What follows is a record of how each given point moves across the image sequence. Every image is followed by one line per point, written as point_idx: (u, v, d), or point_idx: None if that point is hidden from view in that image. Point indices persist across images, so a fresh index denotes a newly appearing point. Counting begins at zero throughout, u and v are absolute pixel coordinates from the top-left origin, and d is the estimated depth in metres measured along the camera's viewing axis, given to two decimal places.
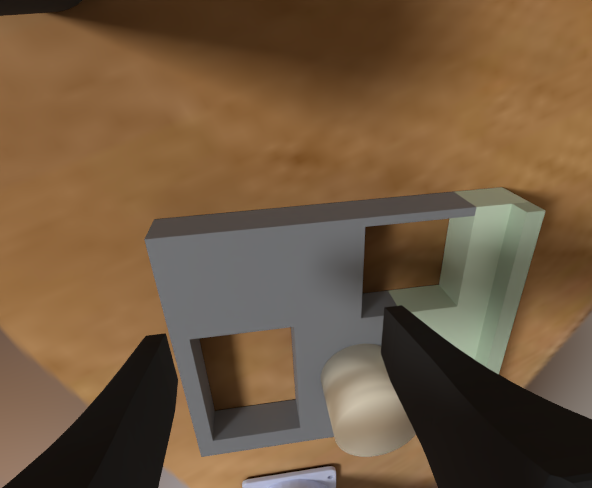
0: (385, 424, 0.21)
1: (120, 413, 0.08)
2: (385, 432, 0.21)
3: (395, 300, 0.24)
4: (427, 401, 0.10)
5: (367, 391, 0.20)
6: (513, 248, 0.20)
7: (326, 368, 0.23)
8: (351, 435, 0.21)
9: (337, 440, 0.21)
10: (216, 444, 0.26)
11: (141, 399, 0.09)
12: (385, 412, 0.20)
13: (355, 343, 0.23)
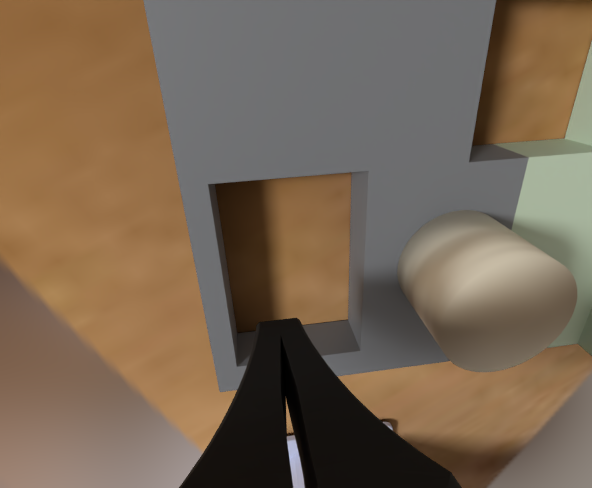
0: (520, 313, 0.13)
1: (276, 391, 0.09)
2: (516, 328, 0.13)
3: (510, 149, 0.16)
4: (297, 420, 0.10)
5: (498, 253, 0.12)
6: None
7: (410, 247, 0.16)
8: (466, 330, 0.13)
9: (442, 339, 0.13)
10: (241, 372, 0.18)
11: (281, 380, 0.10)
12: (524, 289, 0.13)
13: (454, 208, 0.16)
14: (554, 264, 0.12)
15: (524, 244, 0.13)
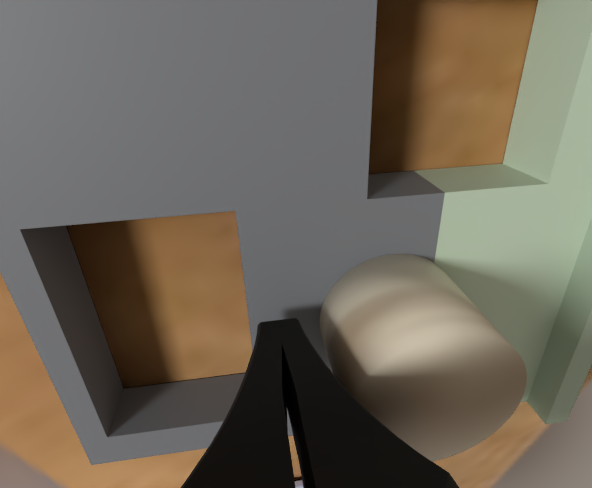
0: (453, 399, 0.10)
1: (278, 391, 0.09)
2: (450, 415, 0.11)
3: (429, 179, 0.13)
4: (296, 420, 0.10)
5: (421, 325, 0.09)
6: None
7: (331, 299, 0.13)
8: (383, 419, 0.10)
9: None
10: (115, 443, 0.15)
11: (282, 380, 0.10)
12: (456, 371, 0.10)
13: (355, 254, 0.12)
14: (494, 342, 0.09)
15: (459, 311, 0.10)
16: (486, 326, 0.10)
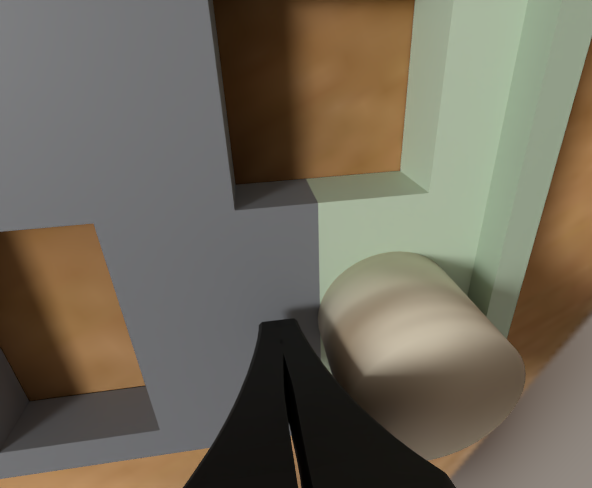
0: (451, 396, 0.10)
1: (279, 391, 0.09)
2: (449, 413, 0.10)
3: (313, 188, 0.13)
4: (294, 420, 0.10)
5: (416, 323, 0.09)
6: (546, 30, 0.09)
7: (328, 298, 0.13)
8: (381, 418, 0.10)
9: None
10: (8, 459, 0.15)
11: (284, 380, 0.10)
12: (453, 368, 0.10)
13: (232, 266, 0.12)
14: (490, 338, 0.09)
15: (455, 308, 0.10)
16: (482, 322, 0.10)
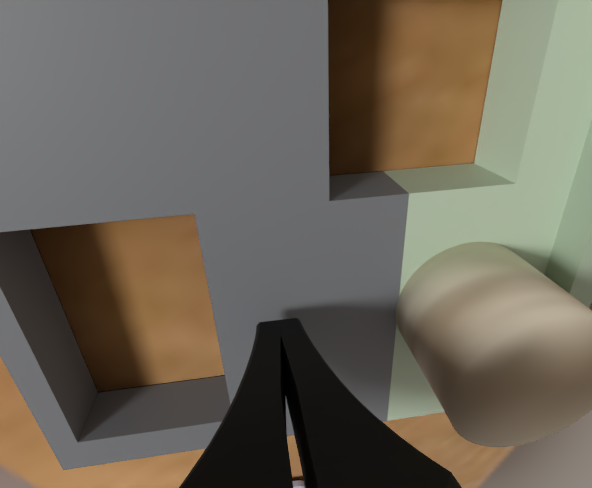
0: (551, 381, 0.10)
1: (276, 391, 0.09)
2: (546, 397, 0.11)
3: (396, 180, 0.13)
4: (297, 420, 0.10)
5: (524, 309, 0.10)
6: None
7: (411, 287, 0.13)
8: (482, 402, 0.10)
9: (453, 414, 0.10)
10: (86, 448, 0.15)
11: (281, 380, 0.10)
12: (558, 353, 0.10)
13: (320, 257, 0.12)
14: None
15: (556, 294, 0.10)
16: (586, 308, 0.10)
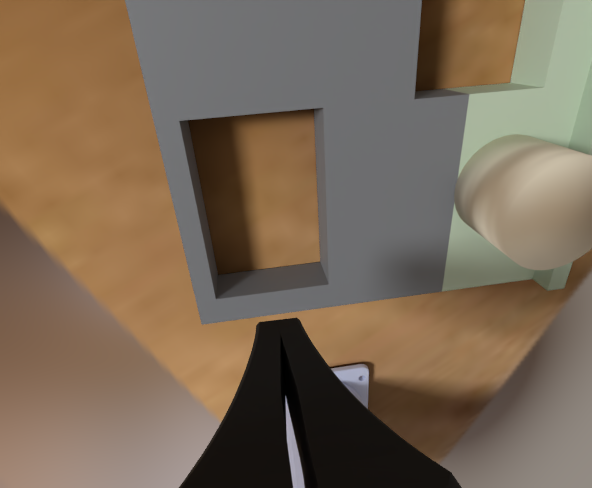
0: (573, 212, 0.15)
1: (276, 391, 0.09)
2: (569, 227, 0.16)
3: (456, 91, 0.18)
4: (297, 420, 0.10)
5: (555, 156, 0.15)
6: None
7: (468, 169, 0.18)
8: (526, 227, 0.15)
9: (506, 236, 0.15)
10: (220, 305, 0.20)
11: (281, 380, 0.10)
12: (577, 187, 0.15)
13: (404, 144, 0.17)
14: None
15: (576, 151, 0.15)
16: None
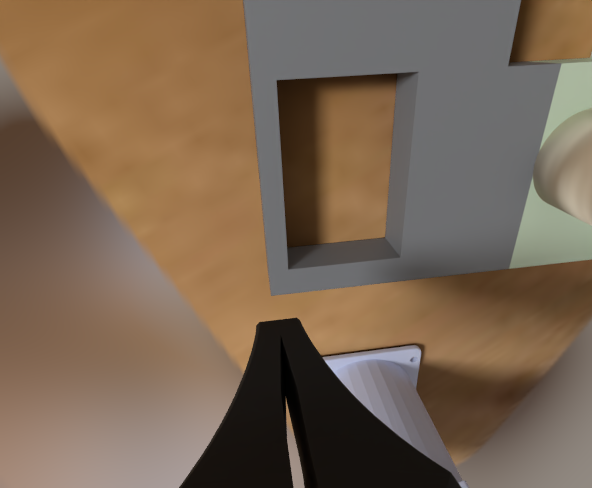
0: None
1: (276, 391, 0.09)
2: None
3: (542, 62, 0.18)
4: (297, 420, 0.10)
5: None
6: None
7: (552, 140, 0.18)
8: None
9: None
10: (292, 276, 0.20)
11: (281, 380, 0.10)
12: None
13: (492, 113, 0.17)
14: None
15: None
16: None
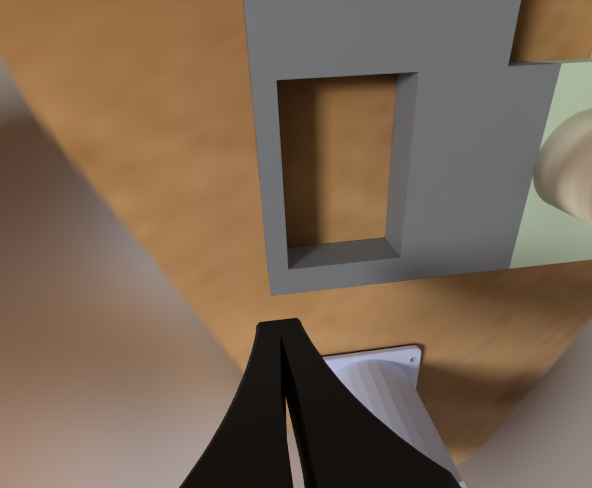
0: None
1: (276, 391, 0.09)
2: None
3: (542, 62, 0.18)
4: (297, 420, 0.10)
5: None
6: None
7: (552, 140, 0.18)
8: None
9: None
10: (292, 276, 0.20)
11: (281, 380, 0.10)
12: None
13: (492, 113, 0.17)
14: None
15: None
16: None
